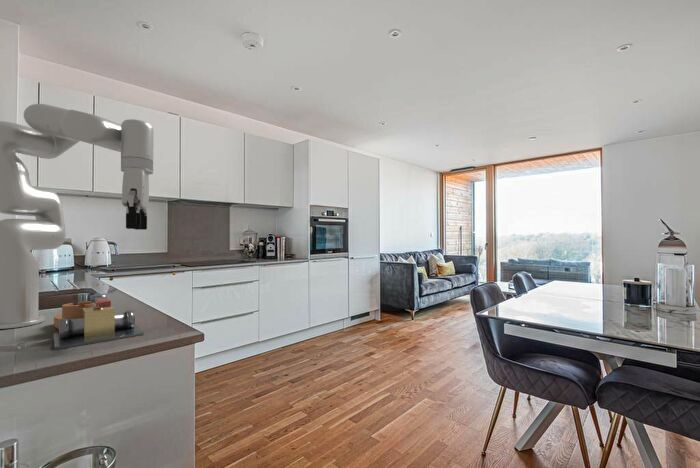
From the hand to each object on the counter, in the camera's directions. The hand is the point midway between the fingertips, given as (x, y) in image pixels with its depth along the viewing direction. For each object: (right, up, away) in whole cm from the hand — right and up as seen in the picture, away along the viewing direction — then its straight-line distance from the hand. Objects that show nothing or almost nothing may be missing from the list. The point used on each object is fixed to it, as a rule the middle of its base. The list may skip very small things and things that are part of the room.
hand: (137, 229), depth 91 cm
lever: (-6, -19, -5) cm, 21 cm away
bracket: (-21, -28, +6) cm, 36 cm away
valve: (-10, -29, -1) cm, 30 cm away
